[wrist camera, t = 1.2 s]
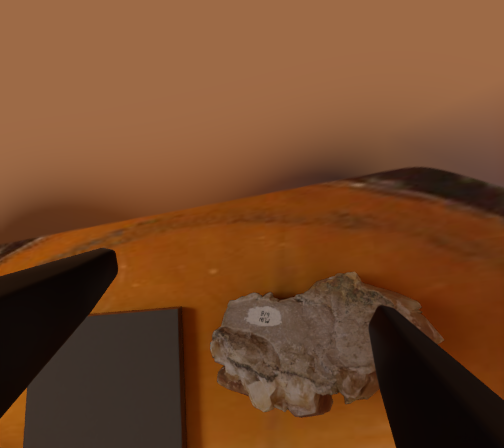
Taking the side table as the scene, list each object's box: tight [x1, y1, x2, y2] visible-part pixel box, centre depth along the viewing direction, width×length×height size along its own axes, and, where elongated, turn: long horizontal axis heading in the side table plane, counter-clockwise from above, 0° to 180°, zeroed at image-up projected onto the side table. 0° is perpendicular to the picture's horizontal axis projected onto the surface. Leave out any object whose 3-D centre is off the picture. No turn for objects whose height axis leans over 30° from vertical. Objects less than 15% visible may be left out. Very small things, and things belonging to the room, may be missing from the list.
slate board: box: [23, 306, 187, 448], centre depth 20 cm, size 18×14×1 cm
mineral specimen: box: [210, 272, 444, 418], centre depth 19 cm, size 13×7×15 cm
